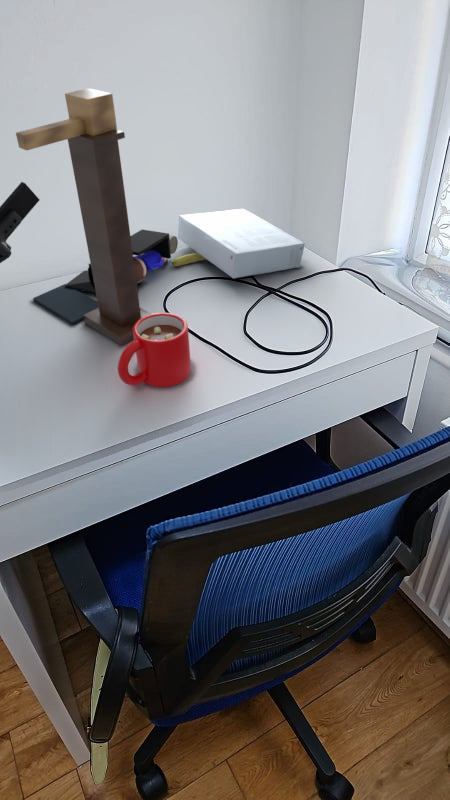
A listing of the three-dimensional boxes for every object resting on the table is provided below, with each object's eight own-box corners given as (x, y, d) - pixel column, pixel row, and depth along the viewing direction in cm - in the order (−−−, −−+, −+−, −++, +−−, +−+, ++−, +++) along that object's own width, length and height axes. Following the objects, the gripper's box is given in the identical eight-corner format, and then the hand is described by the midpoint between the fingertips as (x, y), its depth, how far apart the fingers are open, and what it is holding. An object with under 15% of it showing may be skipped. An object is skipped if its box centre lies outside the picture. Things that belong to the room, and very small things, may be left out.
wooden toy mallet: (33, 153, 71) (25, 114, 68) (12, 145, 74) (2, 107, 71) (117, 129, 78) (112, 93, 75) (94, 123, 81) (89, 87, 78)
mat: (33, 301, 104) (32, 298, 104) (66, 286, 108) (65, 283, 108) (72, 325, 98) (72, 322, 98) (105, 308, 102) (105, 305, 101)
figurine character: (149, 260, 118) (110, 283, 107) (149, 223, 114) (108, 242, 103) (179, 266, 116) (142, 290, 105) (179, 228, 112) (141, 249, 101)
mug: (106, 385, 85) (98, 341, 80) (165, 349, 92) (161, 306, 87) (143, 408, 81) (136, 363, 76) (201, 368, 88) (199, 324, 83)
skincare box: (240, 233, 126) (176, 238, 118) (244, 208, 123) (178, 211, 115) (300, 270, 112) (232, 279, 104) (306, 243, 109) (236, 250, 101)
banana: (206, 247, 116) (215, 256, 113) (206, 255, 117) (215, 264, 114) (168, 256, 113) (176, 265, 110) (168, 264, 114) (176, 273, 111)
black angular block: (64, 287, 107) (60, 264, 104) (85, 271, 112) (82, 248, 109) (124, 299, 103) (121, 275, 100) (143, 282, 109) (141, 259, 106)
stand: (122, 345, 93) (89, 144, 73) (84, 323, 98) (44, 130, 78) (159, 325, 97) (137, 130, 77) (121, 304, 103) (92, 117, 83)
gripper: (-130, 293, 78) (-28, 177, 81) (-41, 367, 65) (77, 225, 68) (-182, 258, 72) (-69, 134, 75) (-95, 333, 59) (37, 178, 62)
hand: (1, 177), depth 72 cm, fingers open, 13 cm apart
